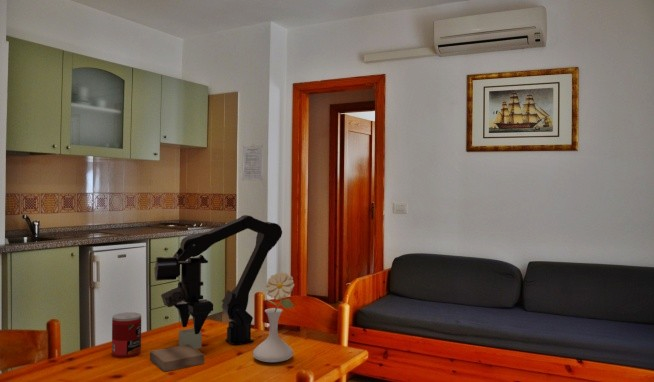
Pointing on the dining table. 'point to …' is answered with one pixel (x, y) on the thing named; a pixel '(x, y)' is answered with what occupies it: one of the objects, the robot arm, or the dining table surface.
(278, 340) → the flower in vase
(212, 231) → the robot arm
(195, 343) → the cube
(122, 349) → the canned food
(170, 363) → the base
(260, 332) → the dining table surface
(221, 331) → the dining table surface
